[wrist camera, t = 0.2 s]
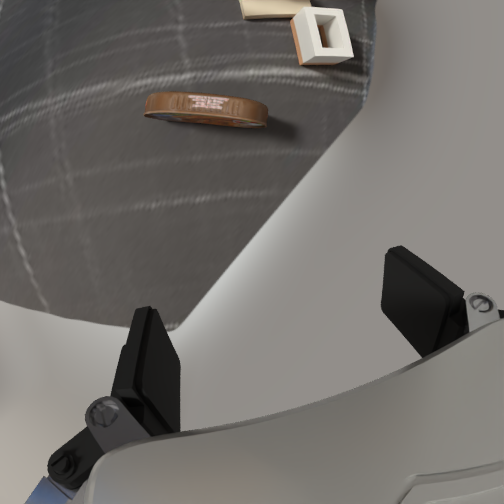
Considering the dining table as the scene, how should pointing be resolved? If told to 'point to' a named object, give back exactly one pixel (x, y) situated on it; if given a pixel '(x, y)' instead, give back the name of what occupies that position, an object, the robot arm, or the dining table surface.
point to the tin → (206, 109)
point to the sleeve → (331, 34)
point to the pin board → (271, 8)
